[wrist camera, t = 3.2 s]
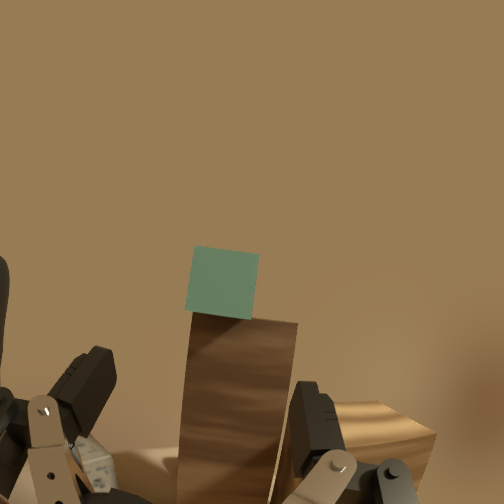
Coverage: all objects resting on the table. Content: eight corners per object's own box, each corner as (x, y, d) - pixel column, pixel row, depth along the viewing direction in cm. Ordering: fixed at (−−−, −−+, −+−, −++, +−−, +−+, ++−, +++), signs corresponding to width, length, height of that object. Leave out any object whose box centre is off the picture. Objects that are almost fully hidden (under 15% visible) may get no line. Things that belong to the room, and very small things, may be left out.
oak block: (372, 569, 13) (437, 433, 18) (275, 584, 13) (321, 448, 18) (341, 518, 27) (376, 400, 32) (265, 523, 27) (290, 401, 31)
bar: (251, 319, 17) (259, 254, 18) (184, 310, 17) (194, 245, 18) (242, 316, 42) (246, 289, 43) (216, 312, 42) (219, 285, 43)
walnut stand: (254, 551, 20) (297, 323, 27) (175, 542, 19) (193, 309, 26) (250, 505, 31) (279, 320, 38) (187, 498, 31) (206, 311, 38)
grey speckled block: (50, 476, 24) (43, 425, 26) (93, 472, 30) (90, 424, 33) (77, 514, 18) (66, 461, 21) (125, 505, 25) (121, 454, 27)
